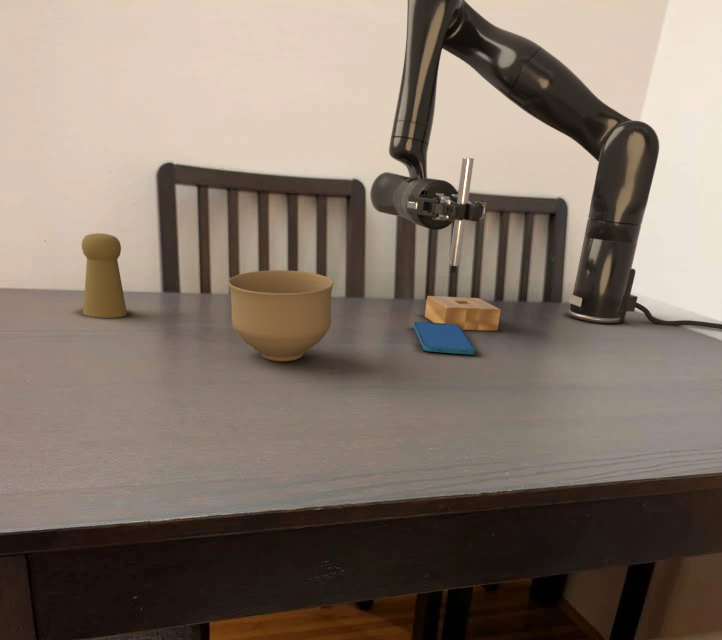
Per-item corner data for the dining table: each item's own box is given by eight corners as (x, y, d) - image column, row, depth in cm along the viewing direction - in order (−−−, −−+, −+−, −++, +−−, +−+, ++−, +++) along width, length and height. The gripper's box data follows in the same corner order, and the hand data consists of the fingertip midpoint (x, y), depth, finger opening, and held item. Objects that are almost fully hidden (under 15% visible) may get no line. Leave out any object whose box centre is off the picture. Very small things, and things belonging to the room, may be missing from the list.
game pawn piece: (93, 318, 102) (88, 237, 98) (76, 310, 106) (70, 231, 102) (134, 316, 106) (131, 237, 101) (116, 307, 110) (112, 231, 105)
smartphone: (424, 346, 100) (412, 321, 114) (423, 353, 101) (412, 327, 114) (476, 350, 101) (459, 324, 115) (475, 357, 101) (458, 330, 115)
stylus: (456, 271, 112) (471, 158, 105) (459, 273, 110) (475, 158, 104) (446, 271, 111) (461, 157, 105) (450, 272, 110) (465, 157, 103)
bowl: (206, 353, 91) (206, 271, 87) (280, 341, 100) (283, 266, 96) (275, 378, 83) (279, 289, 79) (349, 362, 92) (355, 282, 88)
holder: (475, 318, 127) (478, 298, 125) (497, 331, 118) (501, 309, 117) (424, 316, 124) (427, 295, 123) (443, 329, 116) (446, 307, 115)
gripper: (391, 175, 116) (427, 181, 101) (470, 181, 120) (516, 188, 105) (387, 224, 120) (421, 237, 104) (464, 229, 123) (508, 243, 108)
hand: (469, 213), depth 105 cm, fingers closed on stylus
